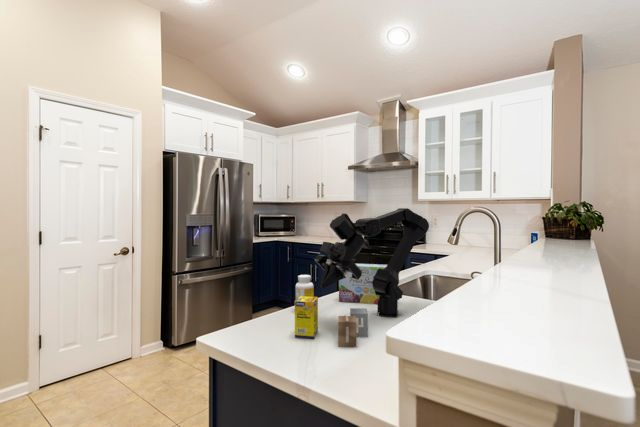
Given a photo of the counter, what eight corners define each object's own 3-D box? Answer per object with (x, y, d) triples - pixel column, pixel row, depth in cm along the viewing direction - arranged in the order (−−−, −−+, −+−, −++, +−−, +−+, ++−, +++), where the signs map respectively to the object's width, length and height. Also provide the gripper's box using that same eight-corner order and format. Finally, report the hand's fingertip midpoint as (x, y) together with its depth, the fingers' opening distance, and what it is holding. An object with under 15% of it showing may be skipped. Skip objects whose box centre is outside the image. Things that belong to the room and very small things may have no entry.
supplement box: (314, 339, 101) (313, 302, 100) (294, 337, 102) (294, 301, 102) (318, 331, 107) (318, 296, 106) (299, 330, 108) (299, 295, 108)
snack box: (338, 302, 138) (338, 264, 138) (340, 298, 144) (340, 262, 143) (392, 305, 133) (393, 266, 133) (393, 301, 139) (393, 264, 138)
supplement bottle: (316, 308, 130) (316, 274, 129) (310, 314, 123) (309, 278, 123) (299, 307, 132) (299, 273, 131) (292, 312, 126) (292, 277, 125)
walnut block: (355, 340, 100) (355, 315, 100) (356, 347, 95) (356, 321, 95) (338, 339, 100) (338, 315, 100) (338, 347, 95) (338, 321, 95)
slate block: (366, 330, 107) (366, 308, 107) (367, 337, 102) (367, 313, 102) (350, 330, 108) (350, 308, 107) (350, 337, 102) (350, 313, 102)
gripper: (319, 230, 117) (290, 266, 111) (354, 234, 102) (323, 276, 96) (337, 252, 122) (311, 287, 116) (374, 259, 106) (345, 300, 100)
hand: (321, 287), depth 107 cm, fingers closed
